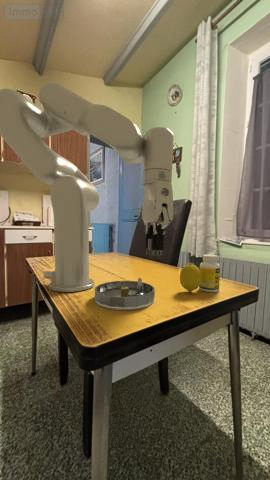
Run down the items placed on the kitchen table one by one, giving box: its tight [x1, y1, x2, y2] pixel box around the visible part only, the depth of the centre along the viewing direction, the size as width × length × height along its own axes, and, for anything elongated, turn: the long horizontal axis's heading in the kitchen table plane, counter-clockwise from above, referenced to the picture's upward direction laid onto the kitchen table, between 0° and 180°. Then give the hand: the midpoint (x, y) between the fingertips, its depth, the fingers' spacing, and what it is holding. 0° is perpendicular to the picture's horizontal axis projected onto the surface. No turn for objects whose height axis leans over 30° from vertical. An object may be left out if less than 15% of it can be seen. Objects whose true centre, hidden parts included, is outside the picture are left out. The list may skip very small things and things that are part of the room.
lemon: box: [179, 262, 201, 293], centre depth 58 cm, size 6×6×8 cm
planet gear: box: [145, 239, 163, 257], centre depth 58 cm, size 4×4×4 cm
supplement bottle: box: [198, 254, 221, 293], centre depth 61 cm, size 5×5×10 cm
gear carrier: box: [94, 277, 156, 312], centre depth 52 cm, size 14×14×5 cm
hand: (154, 248), depth 58 cm, fingers closed on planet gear, 3 cm apart
